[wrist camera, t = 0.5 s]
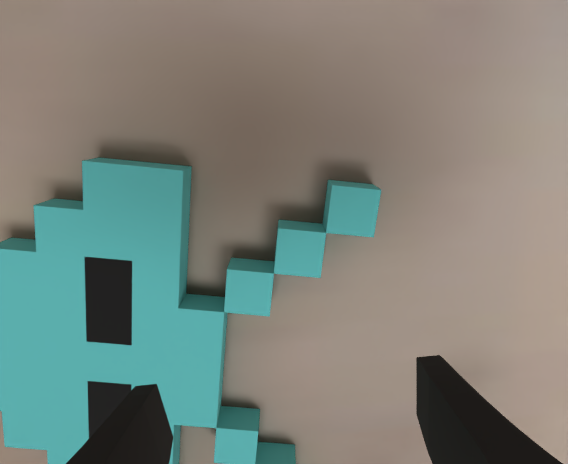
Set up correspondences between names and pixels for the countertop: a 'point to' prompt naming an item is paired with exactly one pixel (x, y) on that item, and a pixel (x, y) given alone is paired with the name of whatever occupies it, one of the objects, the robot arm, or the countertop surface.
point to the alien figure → (138, 310)
